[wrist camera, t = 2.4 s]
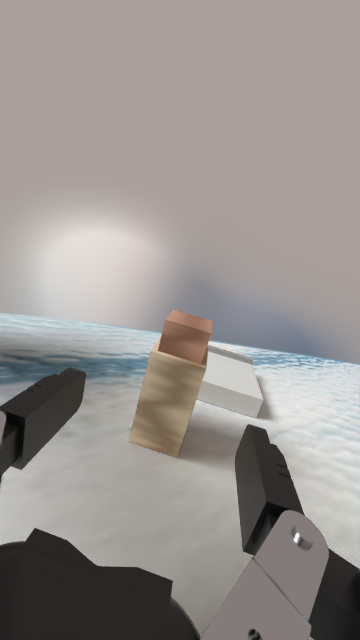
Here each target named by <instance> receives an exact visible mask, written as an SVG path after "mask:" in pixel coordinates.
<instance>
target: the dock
mask: <svg viewBox="0 0 360 640" xmlns="http://www.w3.org/2000/svg"><path fill="white" fill-rule="evenodd" d="M207 347H208V357H207V367H206V371H205V374H204V378H203V381H202V384H201V387H200V390H199V393H198V396H197V399H198V400H201V401H204V402H207V403H210V404H213V405H216V406H219V407H223V408H226V409H229V410H232V411H235V412H238V413H241V414H244V415H247V416H250V417H253V418H256V417H257V415H258V412H259V410H260V408H261V405H262V403H263V401H264V400H263V397H262V394H261V391H260V388H259V385H258V382H257V379H256V376H255V373H254V370H253V366H252V363H253V358H250V357H246V356H243V355H240V354H236V353H233V352H230V351H226V350H223V349H220V348H217V347H213V346H210V345H207Z"/></svg>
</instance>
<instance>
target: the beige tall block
mask: <svg viewBox="0 0 360 640" xmlns="http://www.w3.org/2000/svg"><path fill="white" fill-rule="evenodd" d="M211 326H212V321H210V320H207V319H203V318H200V317H196V316H193V315H189V314H186V313H183V312H179V311H176V310H173V312H172V313H171V314H170V315H169V316H168V317H167V319H166V320H165V324H164V328H163V332H162V336H161V338H160V339H159V341H158V342H157V343H156V345H155V346H154V348H153V349H152V350H151V352H150V356H149V360H148V365H147V369H146V373H145V377H144V381H143V385H142V389H141V393H140V397H139V401H138V405H137V410H136V414H135V418H134V422H133V426H132V430H131V434H130V438H129V442H132V443H135V444H138V445H141V446H143V447H146V448H149V449H152V450H155V451H158V452H161V453H164V454H166V455H169V456H172V457H175V458H177V457H178V454H179V451H180V448H181V445H182V442H183V439H184V436H185V432H186V429H187V426H188V423H189V420H190V417H191V414H192V411H193V408H194V405H195V402H196V399H197V396H198V393H199V390H200V387H201V384H202V381H203V378H204V374H205V371H206V367H207V357H208V347H207V344H208V341H209V338H210V335H211V328H212V327H211Z"/></svg>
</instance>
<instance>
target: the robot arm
mask: <svg viewBox="0 0 360 640" xmlns="http://www.w3.org/2000/svg"><path fill="white" fill-rule="evenodd" d="M85 378H86V373H85V372H83V371H80V370H77V369H74V368H68V369H66V370H65V371H63V372H62V373H61V374H59V375H57V374H54V375H51V376H48V377H45V378H43V379H41V380H40V381H38V382H37V383H35V384H34V385H32V386H31V387H29V388H28V389H27V390H26V391H25V390H24V391H23V392H21V393H20V394H18V395H17V396H15V397H14V398H12V399H11V400H9V401H8V402H6V403H5V404H3V405H2V406H0V492H1V486H2V481H3V473H4V472H5V471H6V470H7V469H8V468H9V467H10V466H12V467H15V468H18V469H20V470H22V469H23V468H24V467H25V466H26V465H27V464H28V462H29V461H30V460H31V459H32V458H33V457H34V456H35V455H36V454H37V453H38V452H39V451H40V450H41V449H42V448H43V447H44V446H45V444H46V443H47V442H48V441H49V440H50V439H51V438H52V437H53V436H54V435H55V434H56V433H57V432H58V431H59V430H60V429H61V428H62V426H63V425H64V424H65V423H66V422H67V421H68V420H69V419H70V418H71V417H72V416H73V415H74V414H75V413H76V411H77V410H78V408H79V407H80V405H81V402H82V398H83V391H84V385H85ZM287 468H288V467H287V464H286V461H285V458H284V456H283V454H282V453H281V452H280V450H279V449H278V448H277V446H276V445H274V444H271V443H270V442H269V438H268V435H267V432H266V430H265V429H262V428H259V427H256V426H253V425H250V424H248V425H247V427H246V429H245V432H244V434H243V437H242V439H241V442H240V444H239V447H238V449H237V453H236V457H235V471H236V482H237V493H238V503H239V514H240V525H241V536H242V546H243V552H246V553H249V554H252V555H254V557H253V558H252V559H251V560H250V562H249V563H248V565H247V566H246V568H245V570H244V571H243V573H242V574H241V576H240V577H239V579H238V581H237V582H236V584H235V585H234V587H233V588H232V590H231V592H230V593H229V595H228V596H227V598H226V600H225V601H224V603H223V604H222V606H221V607H220V609H219V611H218V612H217V614H216V615H215V617H214V619H213V620H212V622H211V623H210V625H209V626H208V628H207V630H206V631H205V633H204V634H203V636H202V637H200V635H199V633H198V631H197V629H196V628H195V626H194V624H193V622H192V621H191V619H190V618H189V616H188V615H187V614H186V612H185V611H184V610H183V609H182V607H181V606H180V605H179V604H178V603H177V602H176V601H175V600H174V599H173V598H171V590H172V583H173V581H172V580H169V579H167V578H164V577H161V576H159V575H156V574H154V573H151V572H148V571H146V570H143V569H141V568H138V567H101V566H97V565H95V564H94V563H92V562H91V561H90V560H89V559H88V558H87V557H86V556H84V555H83V554H82V553H81V552H80V551H79V550H78V549H76V548H75V547H74V546H73V545H72V544H71V543H70V542H68V541H67V540H65V539H62V538H60V537H57V536H54V535H52V534H49V533H47V532H44V531H41V530H39V529H36V528H34V530H33V531H32V533H31V534H30V536H29V537H28V538H27V540H26V541H20V542H11V543H7V544H2V545H0V640H308V639H309V636H310V637H312V638H313V639H314V640H360V569H358V568H357V567H355V566H354V565H352V564H351V563H349V562H348V561H346V560H345V559H343V558H342V557H340V556H339V555H337V554H336V553H334V552H333V551H332V550H330V549H329V548H328V546H327V543H326V541H325V539H324V537H323V535H322V534H321V532H320V531H319V529H318V528H317V527H316V526H315V525H314V524H313V523H312V522H311V521H310V520H309V519H308V518H307V517H305V515H304V513H303V510H302V507H301V504H300V501H299V498H298V495H297V493H296V490H295V487H294V484H293V481H292V479H291V475H290V473H289V470H288V469H287Z"/></svg>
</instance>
